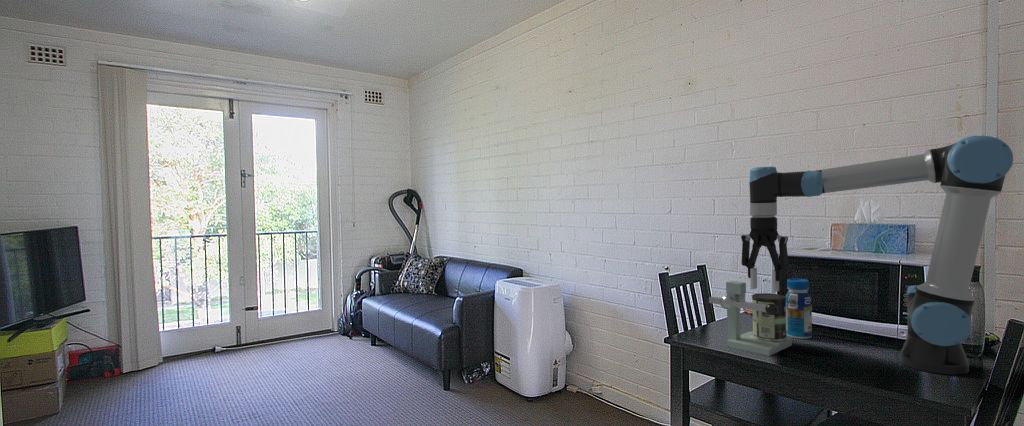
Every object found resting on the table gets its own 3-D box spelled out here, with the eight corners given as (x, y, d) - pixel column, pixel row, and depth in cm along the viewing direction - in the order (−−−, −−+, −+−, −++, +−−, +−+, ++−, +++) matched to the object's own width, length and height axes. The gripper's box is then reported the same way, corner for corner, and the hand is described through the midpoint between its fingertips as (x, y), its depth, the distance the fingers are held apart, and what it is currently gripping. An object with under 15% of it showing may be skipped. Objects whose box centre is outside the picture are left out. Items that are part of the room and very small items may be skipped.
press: (793, 344, 166) (792, 281, 165) (769, 356, 155) (767, 288, 155) (749, 335, 178) (748, 276, 177) (723, 345, 167) (722, 283, 166)
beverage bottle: (780, 332, 180) (780, 278, 179) (805, 332, 179) (804, 277, 178) (791, 339, 171) (790, 282, 171) (817, 339, 170) (816, 281, 170)
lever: (780, 315, 154) (780, 302, 154) (774, 317, 152) (774, 304, 151) (713, 304, 171) (713, 293, 171) (707, 306, 169) (707, 294, 169)
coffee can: (781, 333, 171) (780, 293, 171) (791, 342, 161) (790, 299, 161) (749, 332, 173) (748, 292, 173) (756, 341, 163) (756, 299, 163)
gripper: (801, 216, 149) (802, 292, 150) (739, 215, 164) (741, 284, 165) (790, 217, 145) (791, 295, 146) (728, 216, 160) (729, 287, 161)
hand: (764, 289), depth 155 cm, fingers open, 6 cm apart
